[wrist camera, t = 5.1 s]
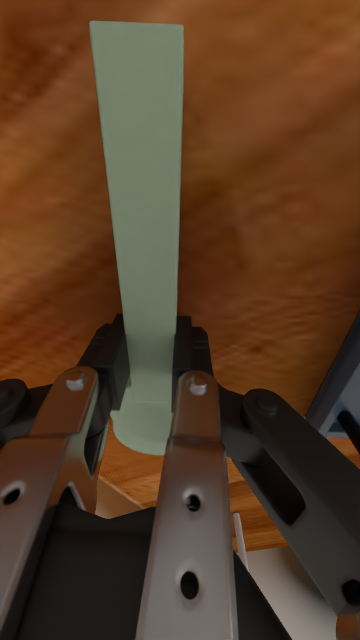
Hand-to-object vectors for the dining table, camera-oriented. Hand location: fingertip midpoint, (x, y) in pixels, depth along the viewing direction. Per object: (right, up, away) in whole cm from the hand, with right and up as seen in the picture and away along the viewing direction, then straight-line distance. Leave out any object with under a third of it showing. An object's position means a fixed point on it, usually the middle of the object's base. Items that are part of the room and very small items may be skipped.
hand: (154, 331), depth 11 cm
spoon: (0, 0, 0) cm, 1 cm away
